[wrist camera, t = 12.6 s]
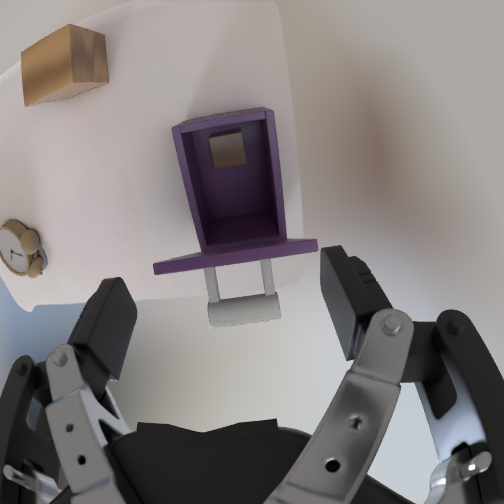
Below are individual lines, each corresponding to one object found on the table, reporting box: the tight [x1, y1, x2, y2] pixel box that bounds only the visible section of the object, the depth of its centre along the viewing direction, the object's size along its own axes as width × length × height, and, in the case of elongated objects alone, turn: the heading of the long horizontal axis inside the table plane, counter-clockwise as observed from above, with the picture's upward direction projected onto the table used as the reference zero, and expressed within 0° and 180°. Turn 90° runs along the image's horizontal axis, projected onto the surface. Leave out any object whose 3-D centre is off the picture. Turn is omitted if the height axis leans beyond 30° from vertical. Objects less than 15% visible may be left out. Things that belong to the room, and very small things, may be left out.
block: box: [208, 128, 247, 169], centre depth 33 cm, size 4×4×4 cm
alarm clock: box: [0, 220, 47, 278], centre depth 39 cm, size 11×5×15 cm
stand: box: [21, 24, 109, 107], centre depth 22 cm, size 8×8×10 cm
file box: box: [172, 107, 287, 251], centre depth 33 cm, size 16×11×8 cm
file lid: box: [153, 239, 318, 328], centre depth 26 cm, size 17×11×5 cm
